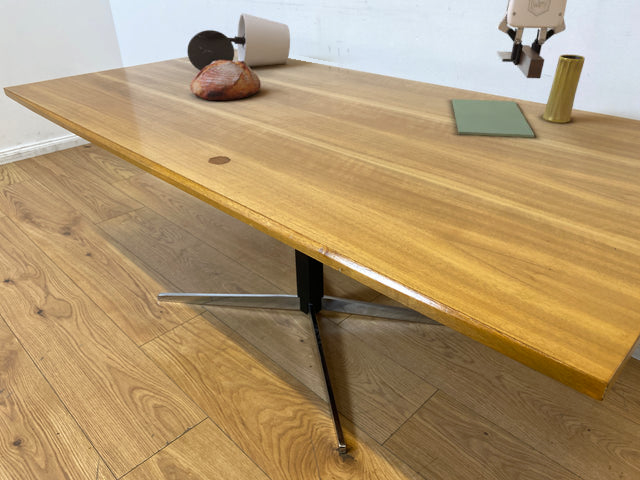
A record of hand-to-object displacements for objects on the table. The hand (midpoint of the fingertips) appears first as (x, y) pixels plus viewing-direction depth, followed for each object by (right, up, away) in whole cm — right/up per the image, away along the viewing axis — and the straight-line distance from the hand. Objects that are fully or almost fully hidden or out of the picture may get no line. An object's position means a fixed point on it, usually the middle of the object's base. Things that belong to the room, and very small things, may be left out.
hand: (523, 63), depth 99 cm
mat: (0, -6, +19) cm, 20 cm away
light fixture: (-69, +23, +68) cm, 100 cm away
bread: (-68, +6, +40) cm, 79 cm away
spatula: (0, 0, +1) cm, 1 cm away
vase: (+15, -7, +18) cm, 24 cm away
